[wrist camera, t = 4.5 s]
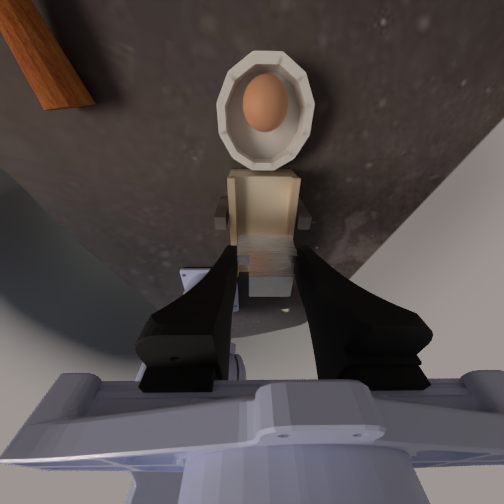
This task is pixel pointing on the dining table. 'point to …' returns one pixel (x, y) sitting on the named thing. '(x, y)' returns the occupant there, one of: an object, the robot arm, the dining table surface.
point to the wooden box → (261, 205)
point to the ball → (265, 102)
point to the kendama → (41, 57)
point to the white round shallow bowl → (286, 134)
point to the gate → (268, 263)
